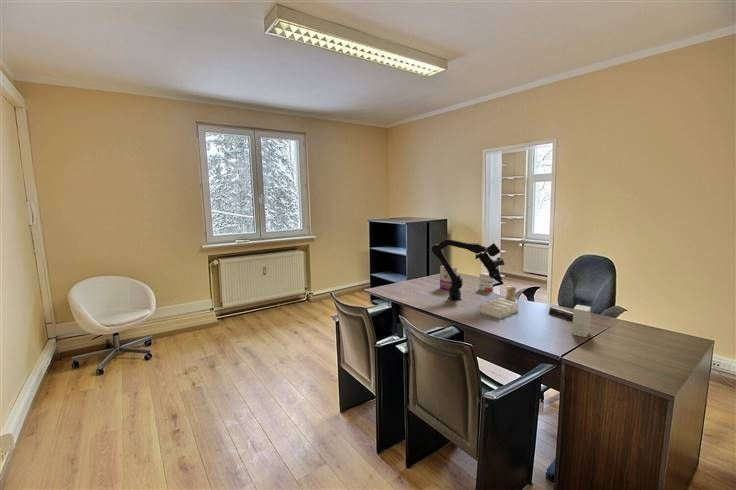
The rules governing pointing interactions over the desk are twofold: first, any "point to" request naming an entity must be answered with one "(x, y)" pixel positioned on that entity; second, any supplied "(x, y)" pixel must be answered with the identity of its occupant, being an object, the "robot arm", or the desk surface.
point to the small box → (581, 320)
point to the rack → (499, 308)
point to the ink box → (485, 282)
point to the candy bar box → (445, 278)
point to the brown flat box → (561, 313)
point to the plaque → (511, 293)
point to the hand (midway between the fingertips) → (501, 281)
